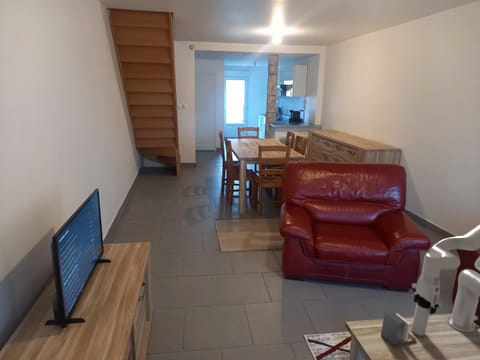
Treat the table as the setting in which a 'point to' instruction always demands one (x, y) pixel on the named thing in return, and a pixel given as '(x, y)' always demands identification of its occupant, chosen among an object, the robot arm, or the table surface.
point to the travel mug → (421, 316)
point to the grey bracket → (394, 330)
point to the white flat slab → (405, 329)
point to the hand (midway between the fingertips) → (424, 307)
